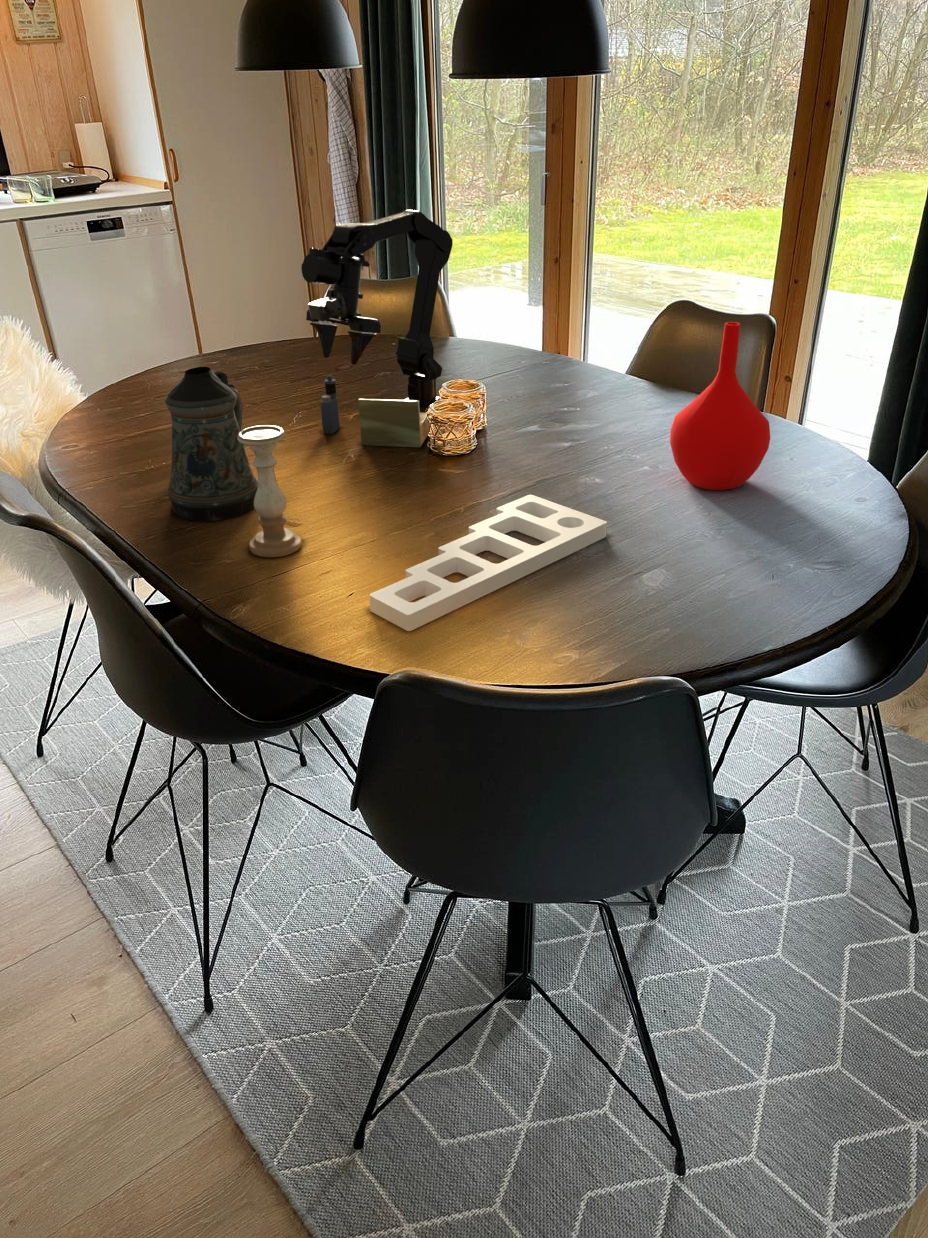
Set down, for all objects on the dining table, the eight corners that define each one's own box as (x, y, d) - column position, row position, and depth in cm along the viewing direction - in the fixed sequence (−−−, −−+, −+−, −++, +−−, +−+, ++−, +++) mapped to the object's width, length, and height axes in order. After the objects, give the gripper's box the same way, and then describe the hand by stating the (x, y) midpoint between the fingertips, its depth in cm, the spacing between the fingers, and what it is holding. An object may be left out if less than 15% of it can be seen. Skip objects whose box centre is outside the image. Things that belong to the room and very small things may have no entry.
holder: (408, 631, 138) (407, 615, 136) (332, 590, 149) (331, 575, 148) (607, 536, 164) (608, 521, 163) (530, 507, 176) (530, 494, 174)
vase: (658, 493, 181) (672, 332, 166) (674, 460, 195) (688, 309, 181) (758, 504, 175) (782, 338, 160) (767, 469, 190) (789, 315, 175)
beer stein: (168, 526, 172) (142, 388, 160) (174, 486, 188) (151, 359, 176) (261, 516, 175) (243, 380, 162) (259, 478, 191) (242, 352, 179)
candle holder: (277, 562, 158) (262, 444, 148) (238, 551, 162) (221, 435, 152) (312, 542, 165) (299, 428, 154) (273, 532, 169) (259, 420, 159)
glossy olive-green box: (373, 430, 216) (370, 386, 211) (429, 432, 214) (428, 387, 209) (361, 445, 207) (358, 399, 202) (420, 447, 205) (418, 401, 200)
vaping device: (341, 427, 218) (337, 374, 212) (331, 434, 214) (326, 381, 208) (331, 426, 219) (326, 374, 213) (321, 433, 214) (316, 380, 209)
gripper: (289, 278, 206) (284, 352, 211) (346, 288, 195) (339, 367, 200) (329, 282, 214) (323, 354, 219) (386, 292, 203) (378, 368, 208)
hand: (339, 360), depth 211 cm, fingers open, 9 cm apart
